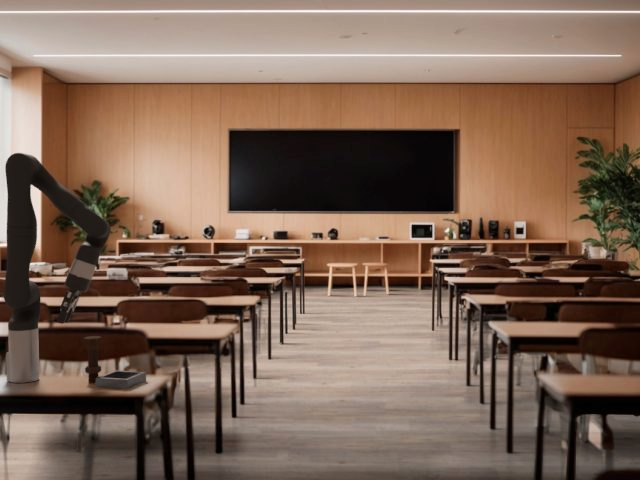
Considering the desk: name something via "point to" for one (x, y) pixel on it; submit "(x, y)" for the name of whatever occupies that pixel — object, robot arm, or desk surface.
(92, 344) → the bolt
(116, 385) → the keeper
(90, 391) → the desk surface
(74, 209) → the robot arm
